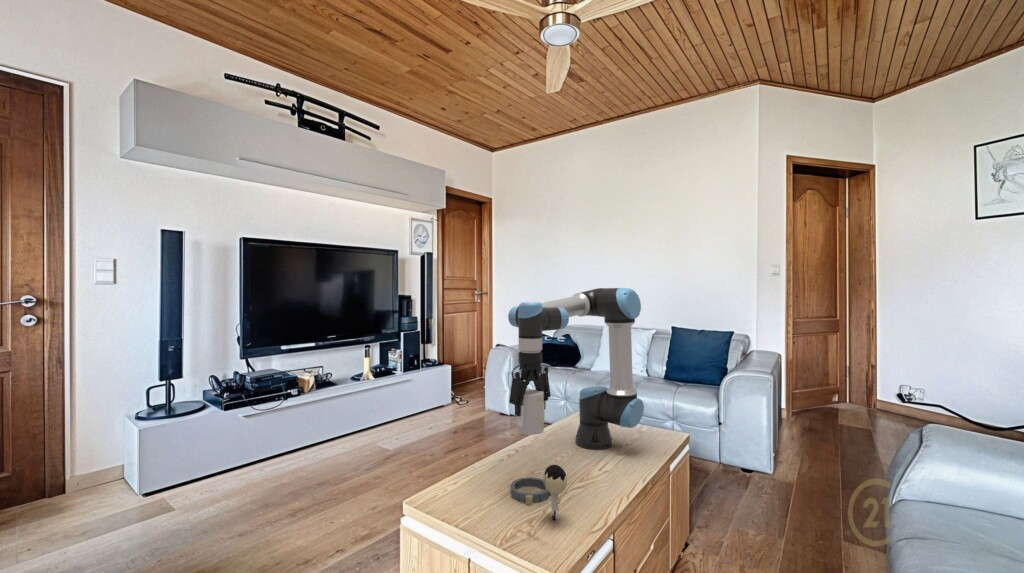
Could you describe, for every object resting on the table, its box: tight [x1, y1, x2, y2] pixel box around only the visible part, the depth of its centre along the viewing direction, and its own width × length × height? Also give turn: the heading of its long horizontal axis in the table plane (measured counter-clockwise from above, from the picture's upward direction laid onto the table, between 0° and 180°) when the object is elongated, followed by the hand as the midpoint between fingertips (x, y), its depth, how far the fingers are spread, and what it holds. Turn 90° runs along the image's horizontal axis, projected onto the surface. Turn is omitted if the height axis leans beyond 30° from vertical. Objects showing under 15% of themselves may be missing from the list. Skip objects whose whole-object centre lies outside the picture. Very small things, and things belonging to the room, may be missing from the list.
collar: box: [509, 476, 551, 506], centre depth 137 cm, size 12×12×2 cm
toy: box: [542, 464, 568, 521], centre depth 122 cm, size 9×7×15 cm
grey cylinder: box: [517, 388, 545, 436], centre depth 137 cm, size 8×8×12 cm
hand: (530, 423), depth 137 cm, fingers closed on grey cylinder, 8 cm apart
